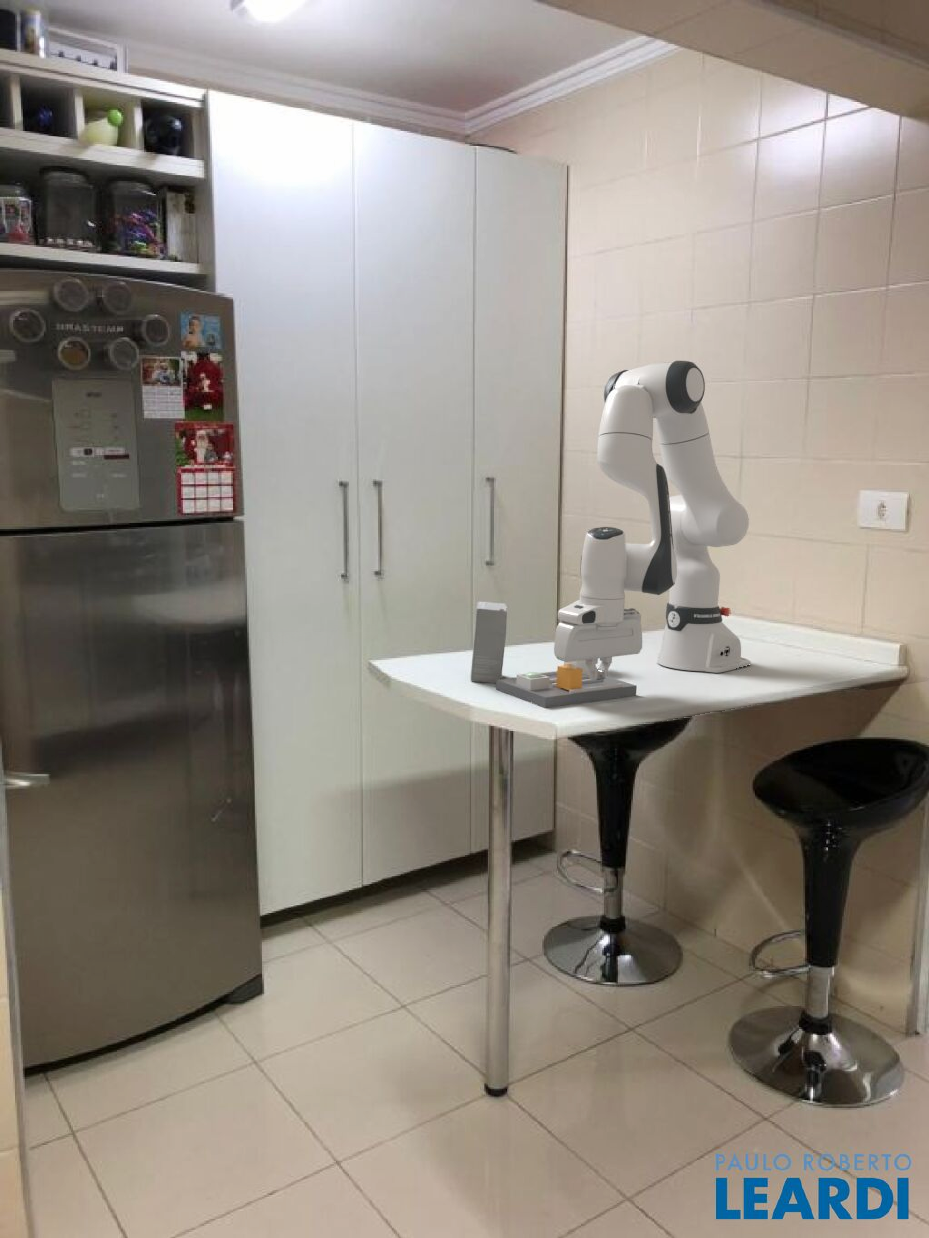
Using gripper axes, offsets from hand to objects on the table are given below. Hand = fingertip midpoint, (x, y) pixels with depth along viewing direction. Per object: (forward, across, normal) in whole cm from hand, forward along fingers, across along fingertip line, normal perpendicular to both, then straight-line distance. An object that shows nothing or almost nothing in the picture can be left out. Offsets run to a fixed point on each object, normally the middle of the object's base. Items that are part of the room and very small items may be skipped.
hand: (597, 679), depth 198 cm
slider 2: (+1, +7, 0) cm, 7 cm away
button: (0, +13, -5) cm, 13 cm away
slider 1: (+1, -2, -9) cm, 9 cm away
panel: (+3, +4, -4) cm, 7 cm away
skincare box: (+3, +12, -22) cm, 25 cm away
